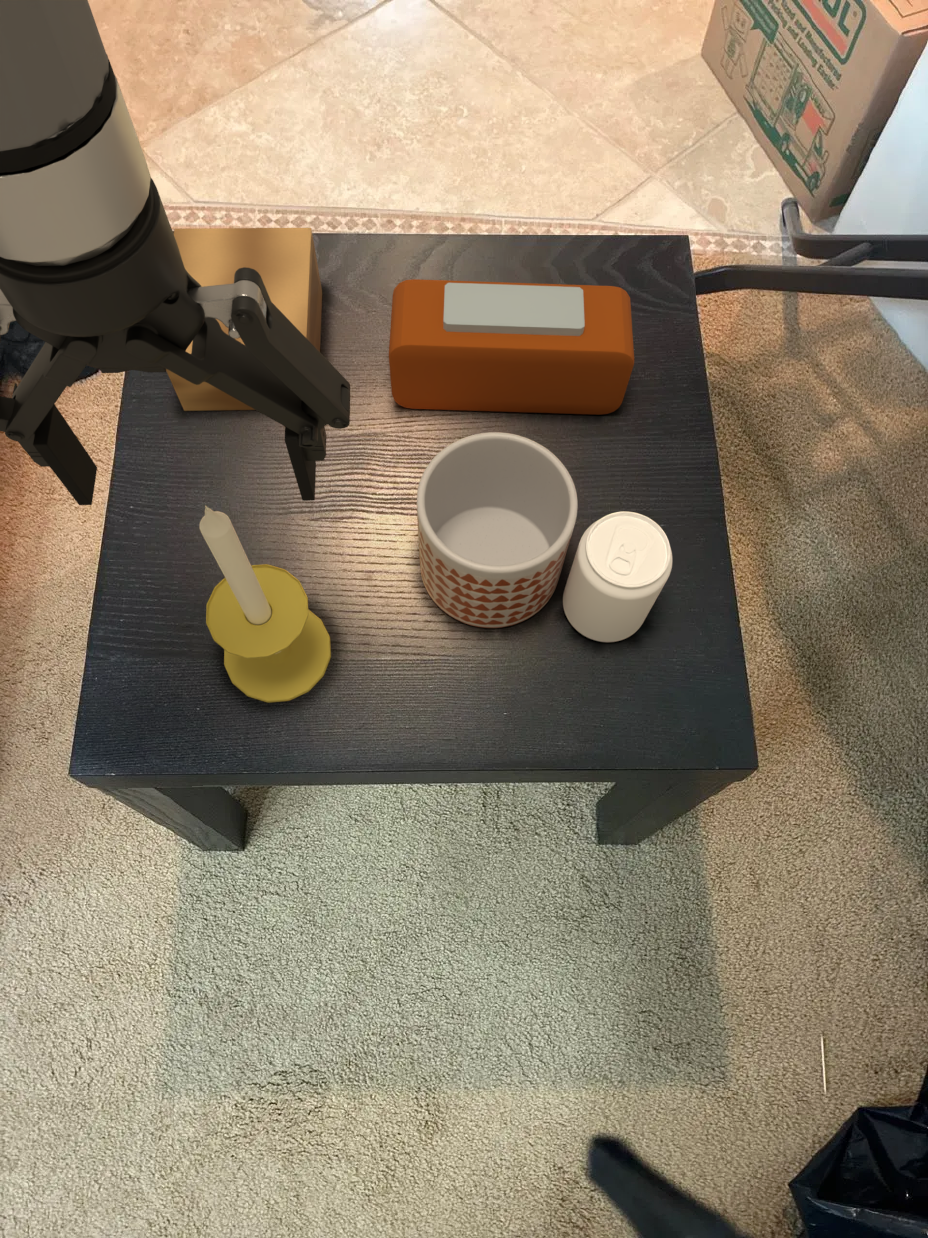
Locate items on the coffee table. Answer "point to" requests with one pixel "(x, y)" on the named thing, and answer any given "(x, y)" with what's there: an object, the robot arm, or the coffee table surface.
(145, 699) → the coffee table surface
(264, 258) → the lidded tan carton
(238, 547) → the candle
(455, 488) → the planter
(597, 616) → the beverage can
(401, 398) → the alarm clock
